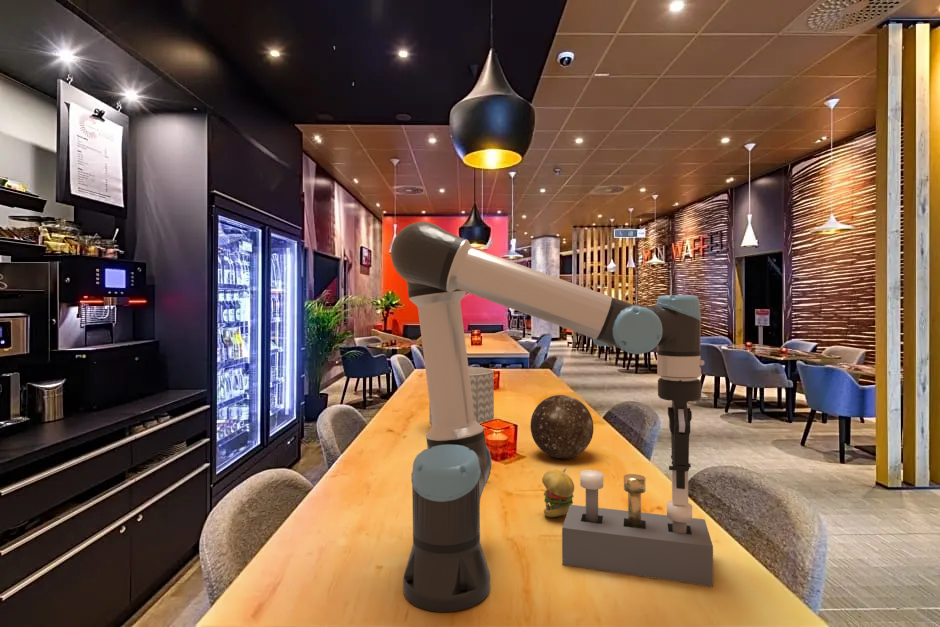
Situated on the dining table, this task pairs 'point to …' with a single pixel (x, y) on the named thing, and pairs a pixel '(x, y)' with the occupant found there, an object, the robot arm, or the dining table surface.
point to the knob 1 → (591, 492)
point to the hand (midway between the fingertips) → (680, 503)
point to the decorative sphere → (562, 426)
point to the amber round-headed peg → (634, 498)
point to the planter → (481, 393)
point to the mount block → (638, 546)
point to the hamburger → (557, 492)
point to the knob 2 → (679, 516)
